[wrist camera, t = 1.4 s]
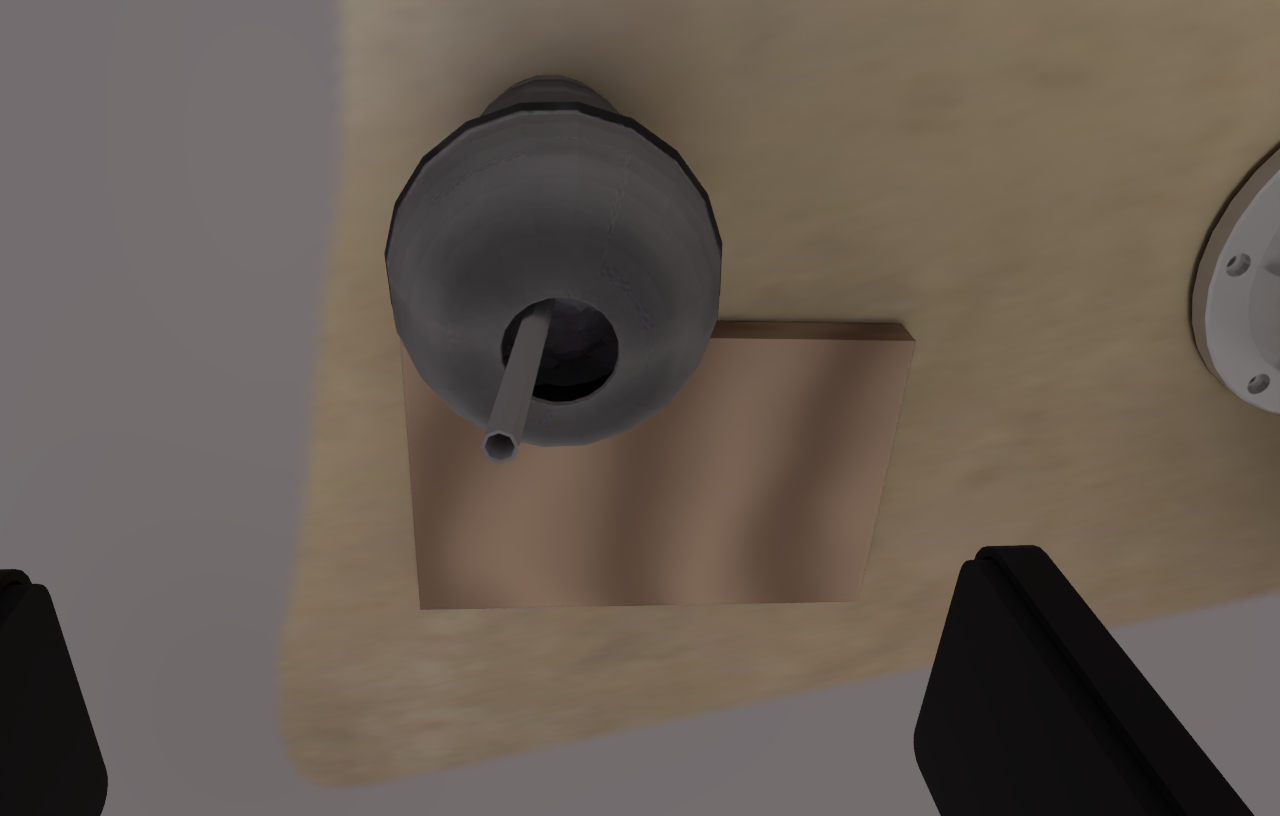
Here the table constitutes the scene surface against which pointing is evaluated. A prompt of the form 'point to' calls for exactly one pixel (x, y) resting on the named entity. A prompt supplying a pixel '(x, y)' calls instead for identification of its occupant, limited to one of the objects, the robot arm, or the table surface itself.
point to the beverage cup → (553, 269)
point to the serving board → (674, 484)
